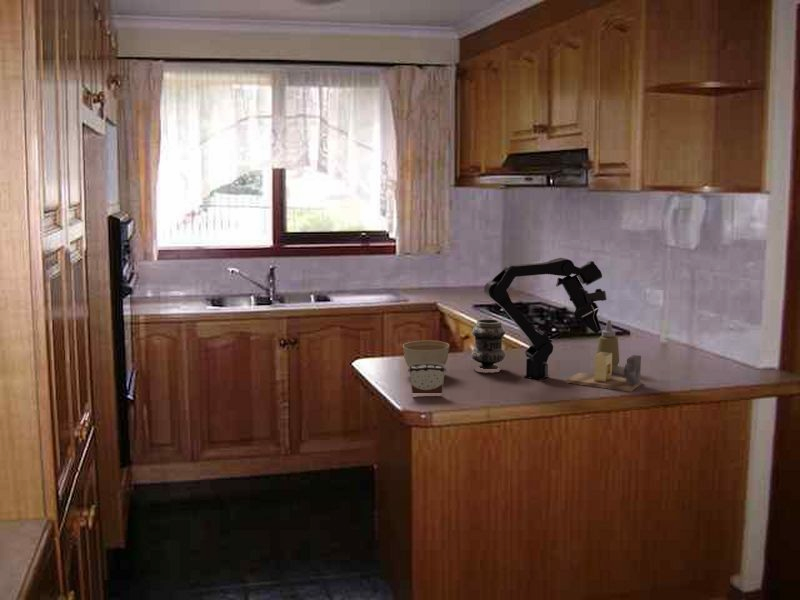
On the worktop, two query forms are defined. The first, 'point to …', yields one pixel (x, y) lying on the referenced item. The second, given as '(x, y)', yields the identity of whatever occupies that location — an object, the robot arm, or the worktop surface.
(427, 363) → the food container
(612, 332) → the squeeze bottle
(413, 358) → the planter bowl
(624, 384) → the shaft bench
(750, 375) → the worktop surface
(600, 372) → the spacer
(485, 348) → the apothecary jar
